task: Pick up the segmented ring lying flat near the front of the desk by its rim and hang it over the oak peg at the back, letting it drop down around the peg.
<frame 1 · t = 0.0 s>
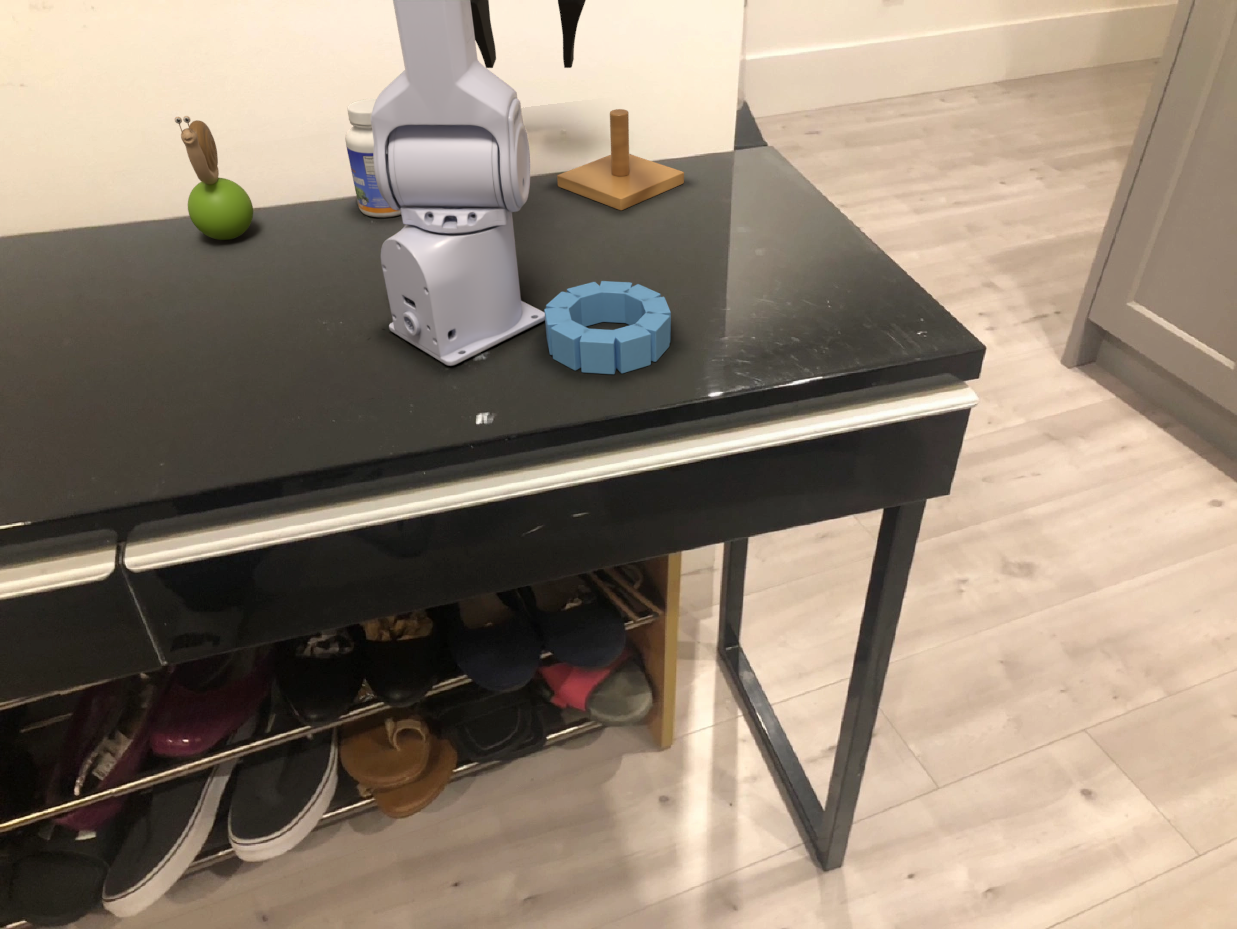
hand: (529, 63, 89), 11 cm above the table, tool pointing down, fingers open, 7 cm apart
pill bottle: (388, 209, 89), on the table
peg: (620, 185, 92), on the table
snail figurine: (229, 241, 84), on the table
segmented ring: (608, 340, 68), on the table
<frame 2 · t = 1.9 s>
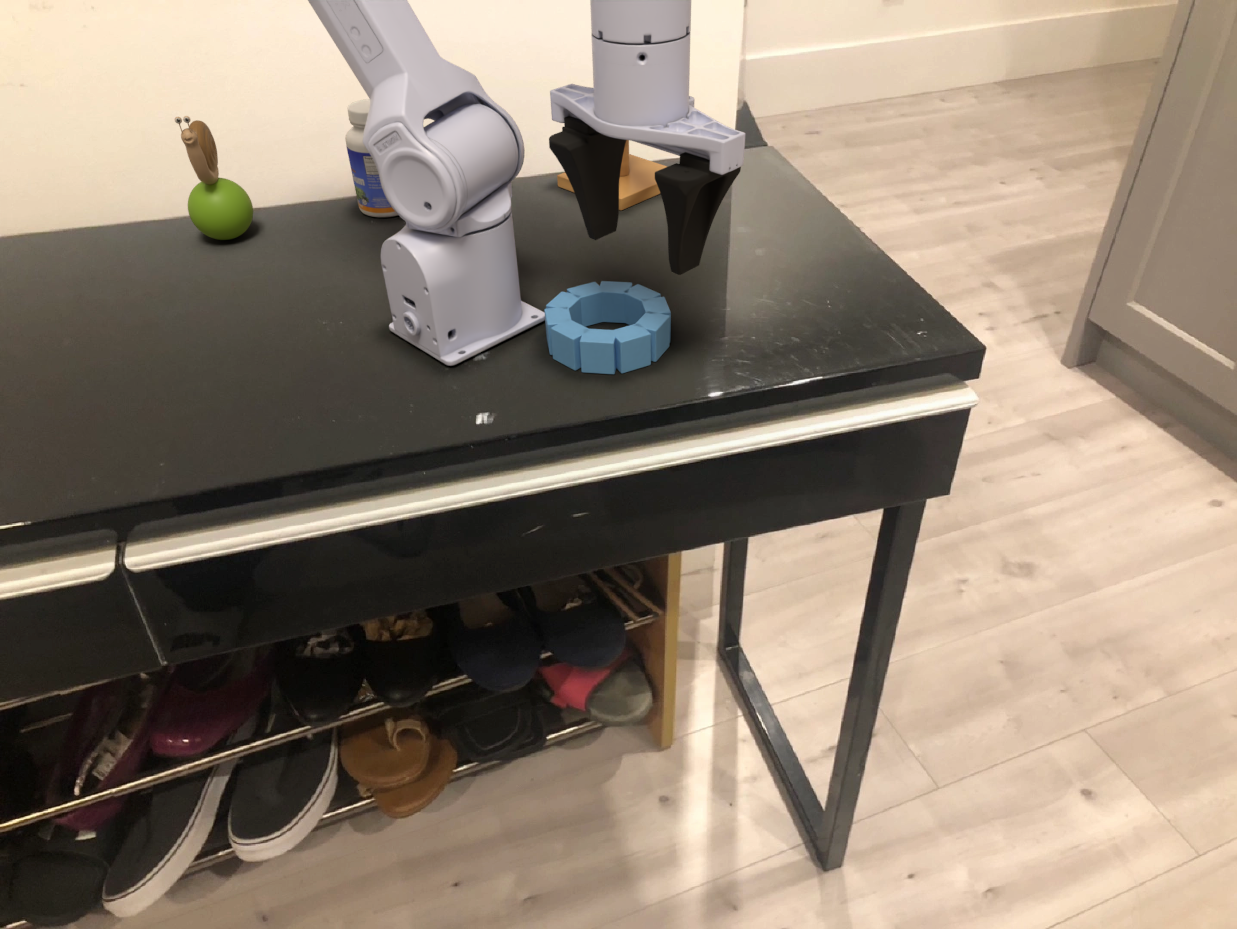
hand: (642, 250, 61), 8 cm above the table, tool pointing down, fingers open, 7 cm apart
nothing on the table moved.
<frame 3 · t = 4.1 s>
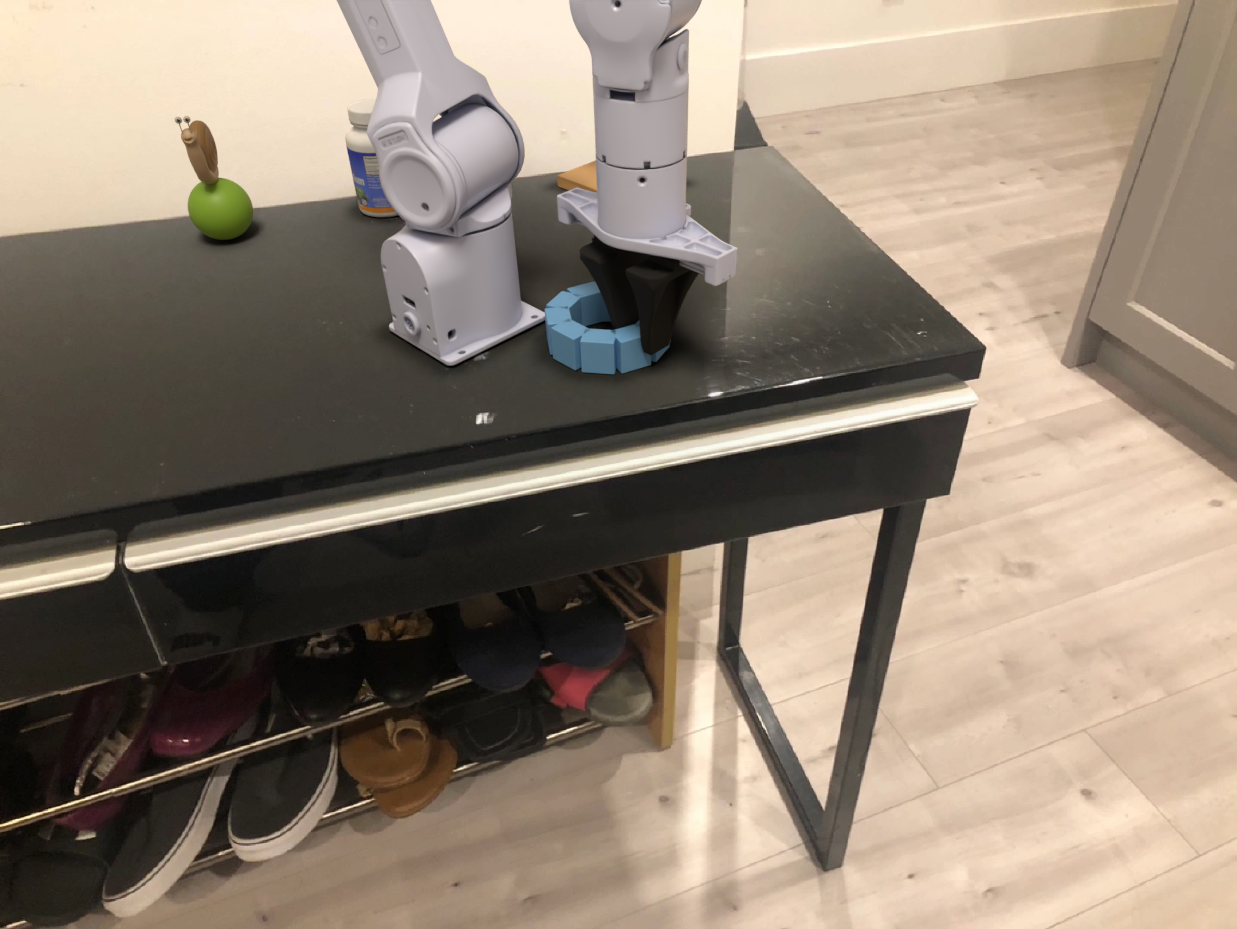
hand: (642, 341, 65), 1 cm above the table, tool pointing down, fingers closed on segmented ring, 2 cm apart
segmented ring: (608, 340, 68), on the table, touching gripper
everything else where it was.
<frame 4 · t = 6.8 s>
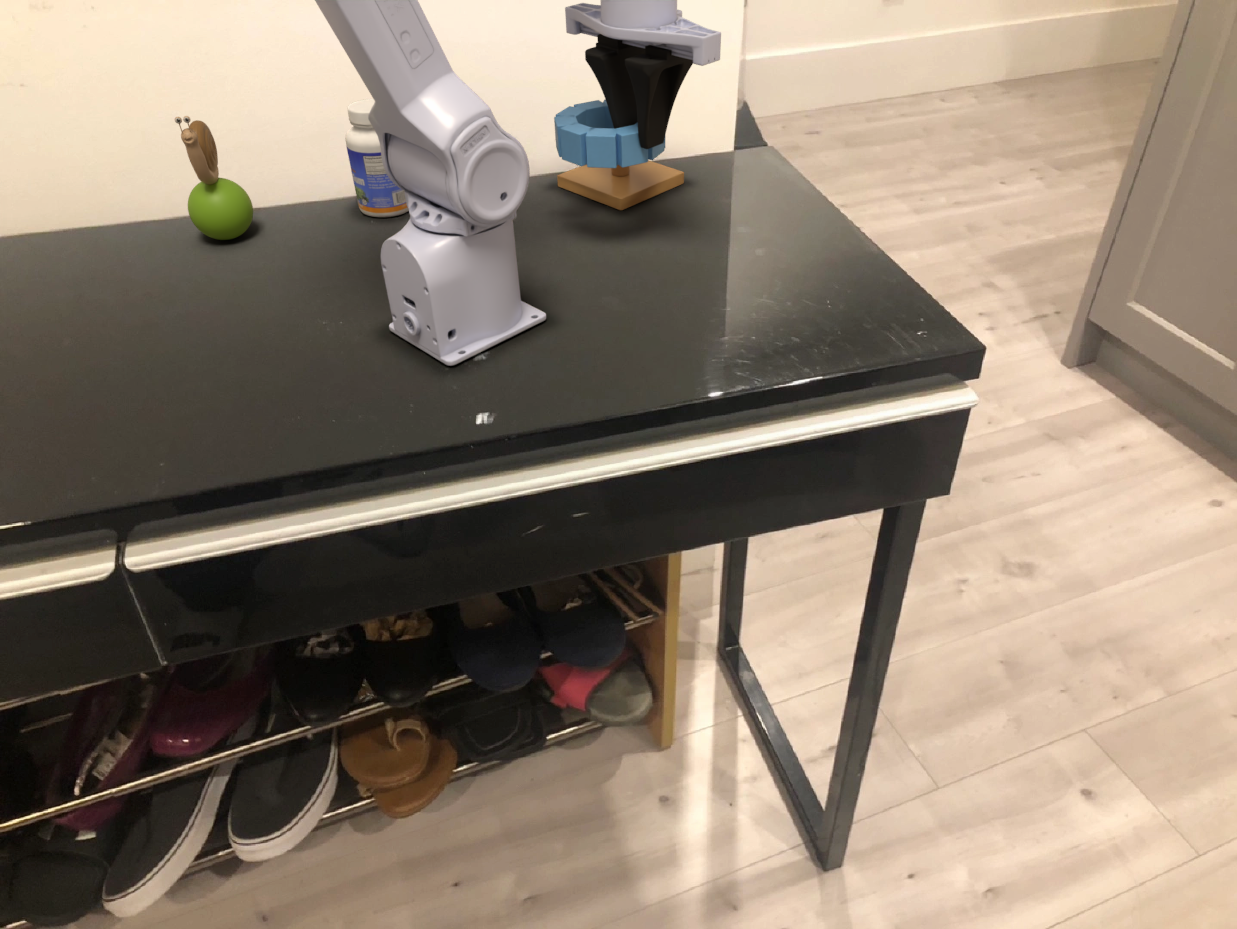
hand: (640, 141, 74), 9 cm above the table, tool pointing down, fingers closed on segmented ring, 2 cm apart
segmented ring: (610, 147, 77), point 8 cm above the table, touching gripper
everything else where it was.
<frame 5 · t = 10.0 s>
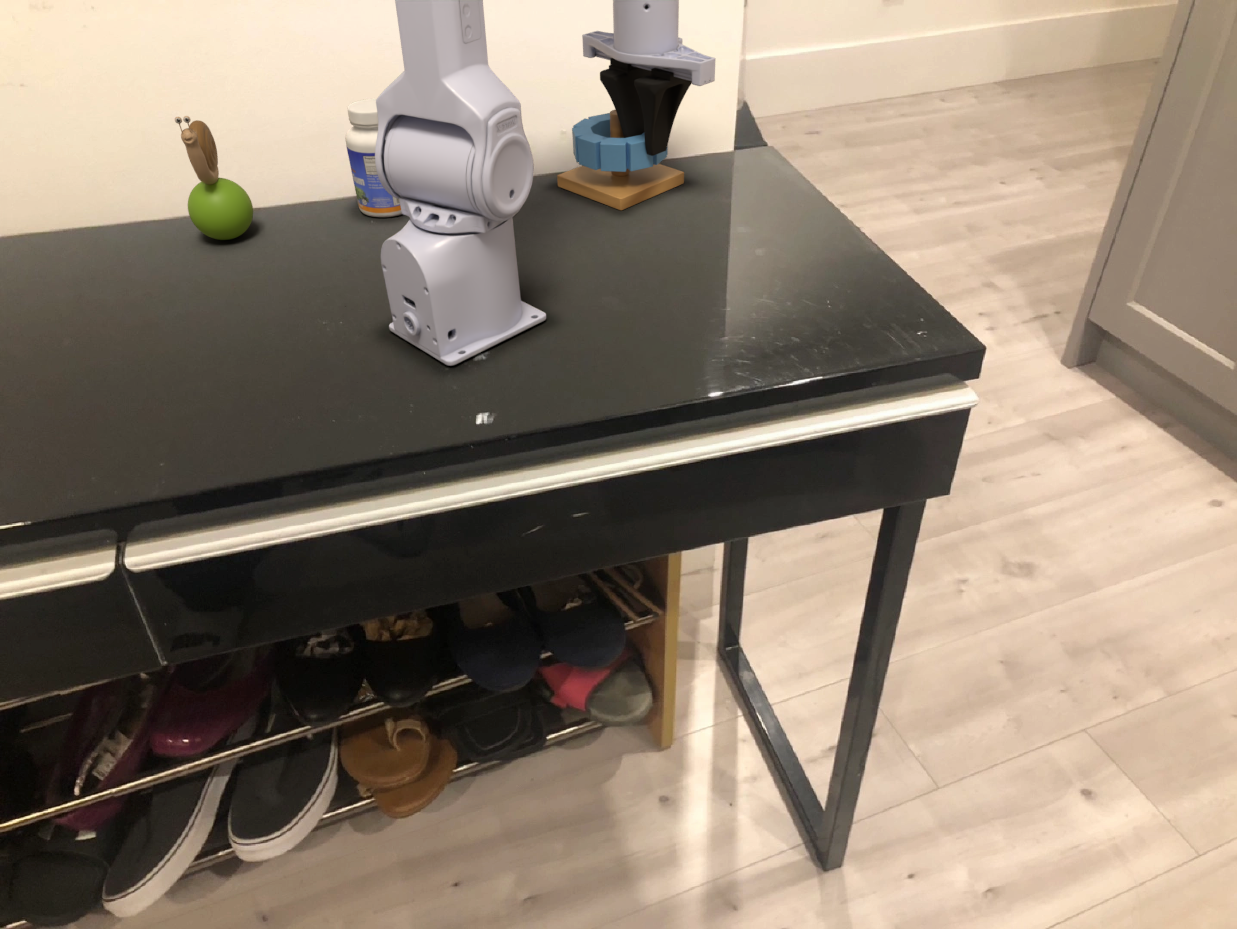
hand: (646, 148, 87), 4 cm above the table, tool pointing down, fingers closed on segmented ring, 2 cm apart
segmented ring: (620, 154, 90), point 3 cm above the table, touching gripper
everything else where it was.
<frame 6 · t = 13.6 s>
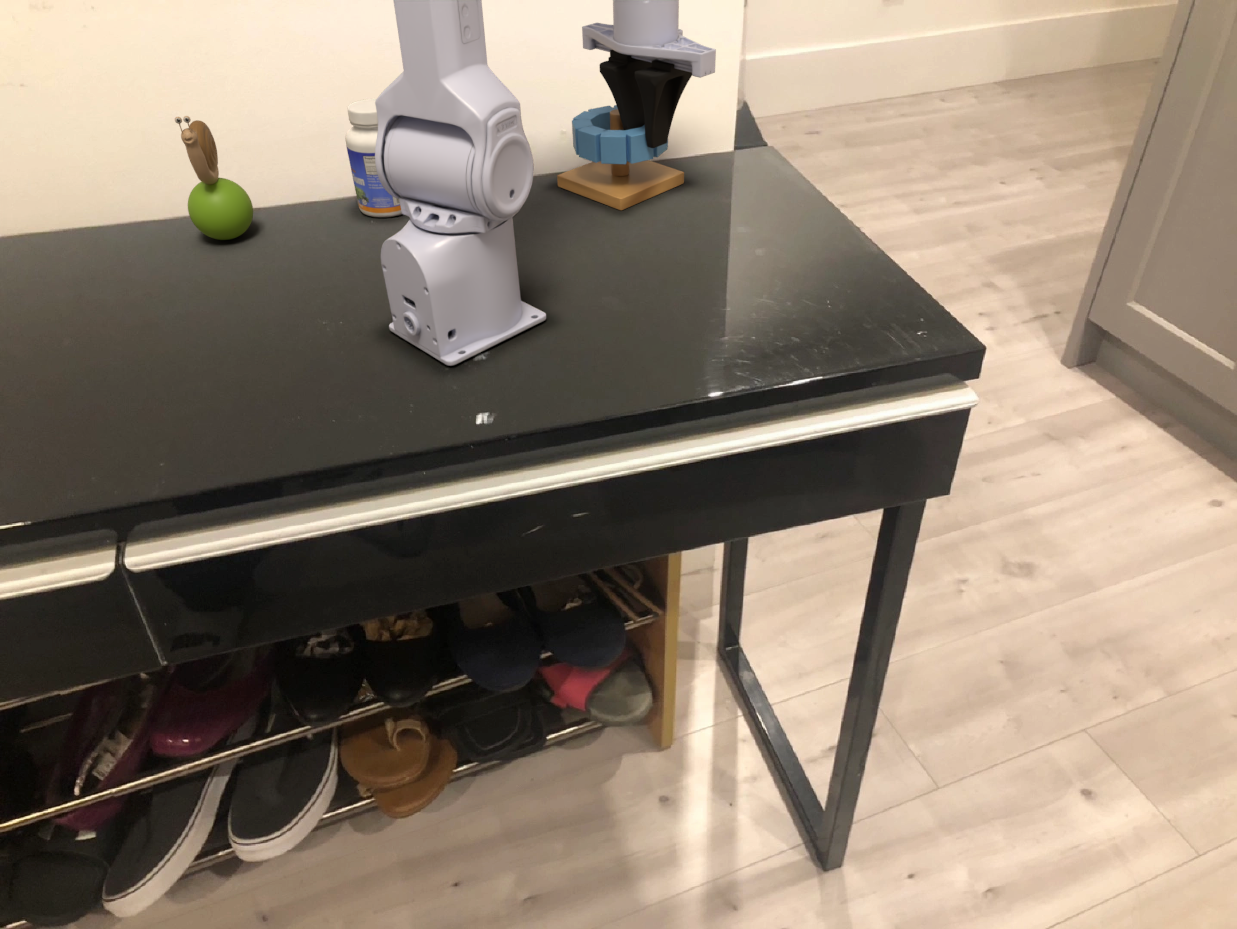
hand: (646, 141, 86), 5 cm above the table, tool pointing down, fingers closed on segmented ring, 2 cm apart
segmented ring: (620, 147, 89), point 4 cm above the table, touching gripper
everything else where it was.
when the fingers open (7 cm above the table, at t = 17.1 s): segmented ring drops 4 cm, resting on peg.
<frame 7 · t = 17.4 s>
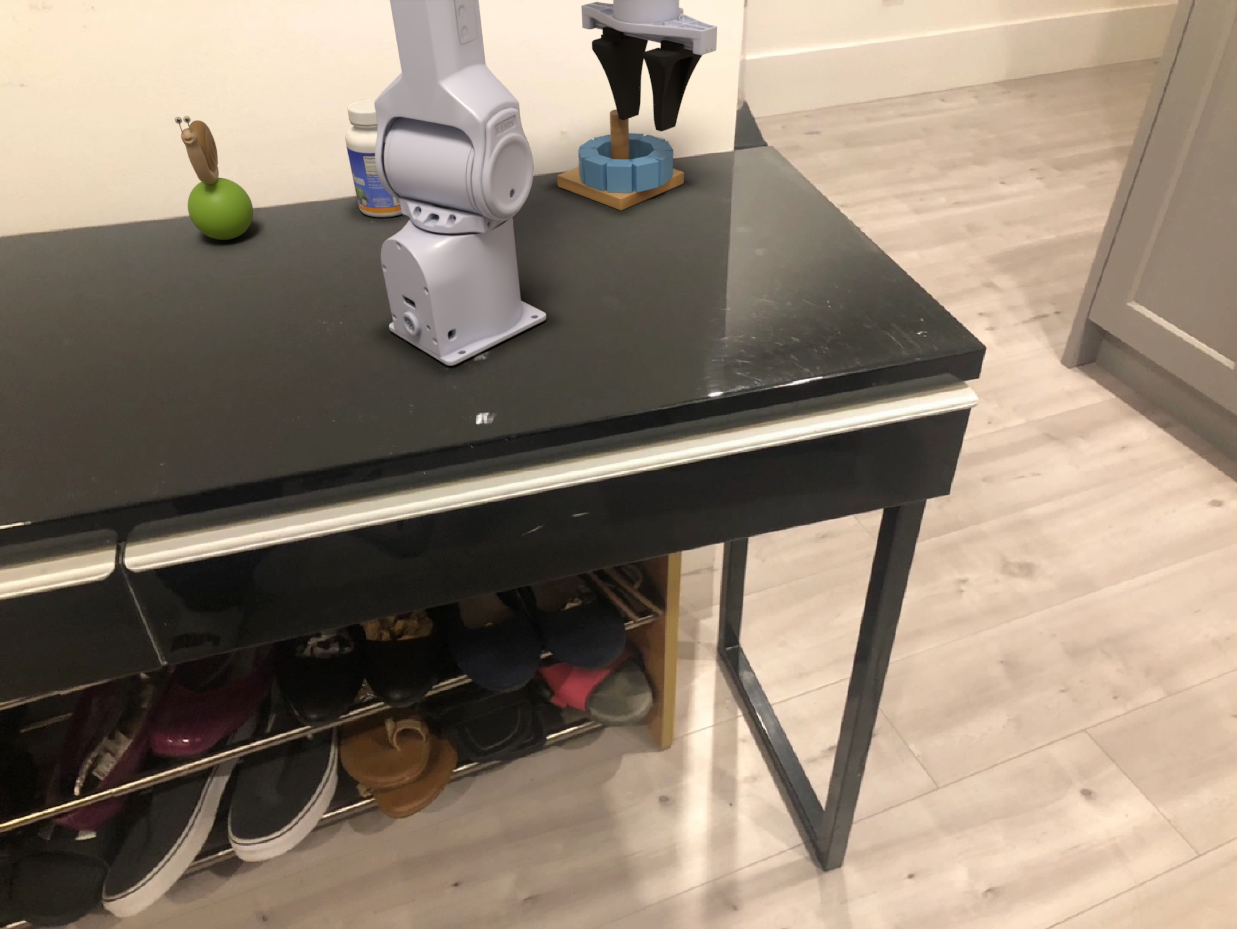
hand: (646, 122, 85), 7 cm above the table, tool pointing down, fingers open, 4 cm apart
segmented ring: (625, 174, 91), point 1 cm above the table, touching peg
everything else where it was.
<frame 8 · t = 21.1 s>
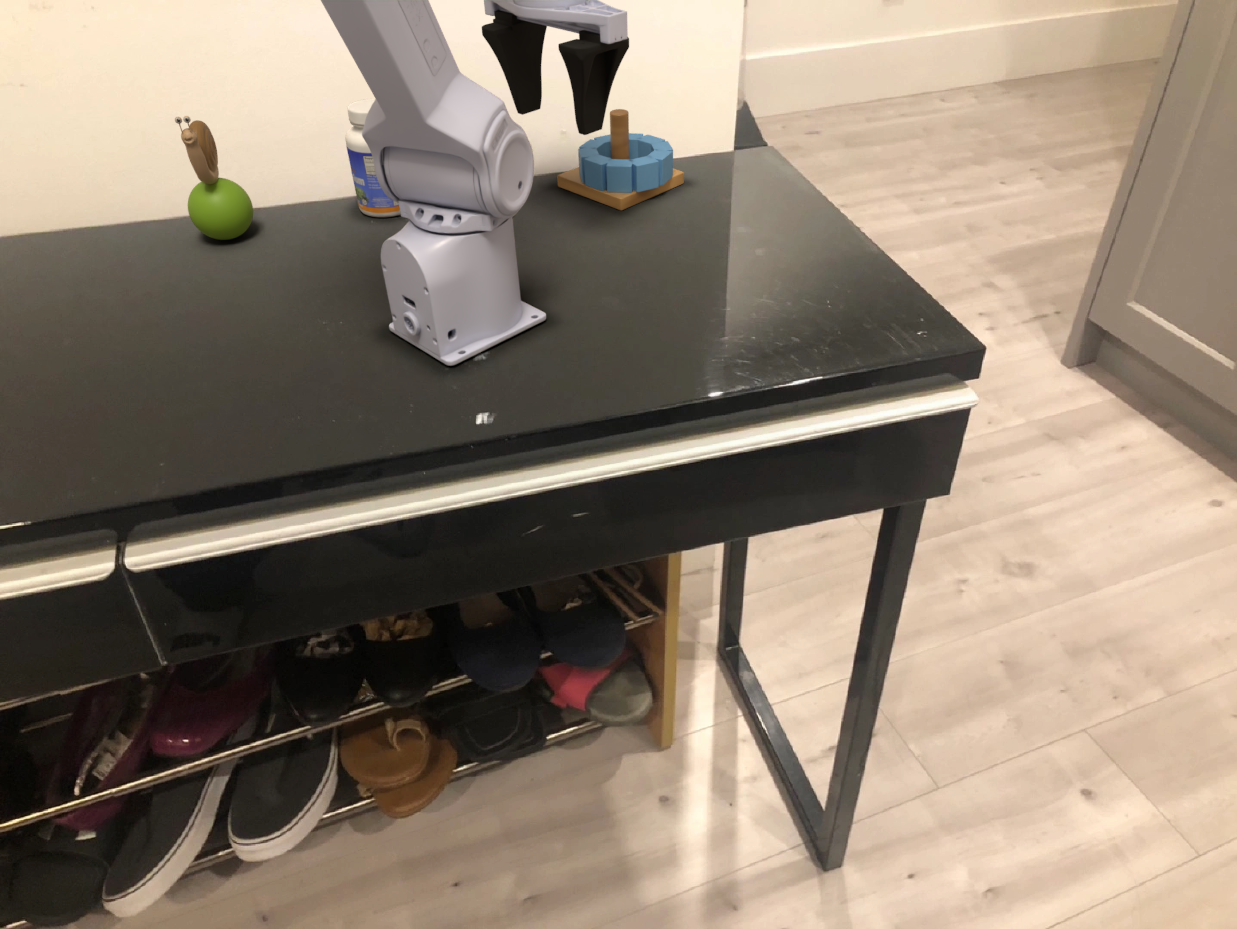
hand: (559, 120, 76), 10 cm above the table, tool pointing down, fingers open, 7 cm apart
nothing on the table moved.
at the end: segmented ring 0.7 cm from the peg (horizontally); segmented ring point 1.2 cm above the table; the gripper is holding nothing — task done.
